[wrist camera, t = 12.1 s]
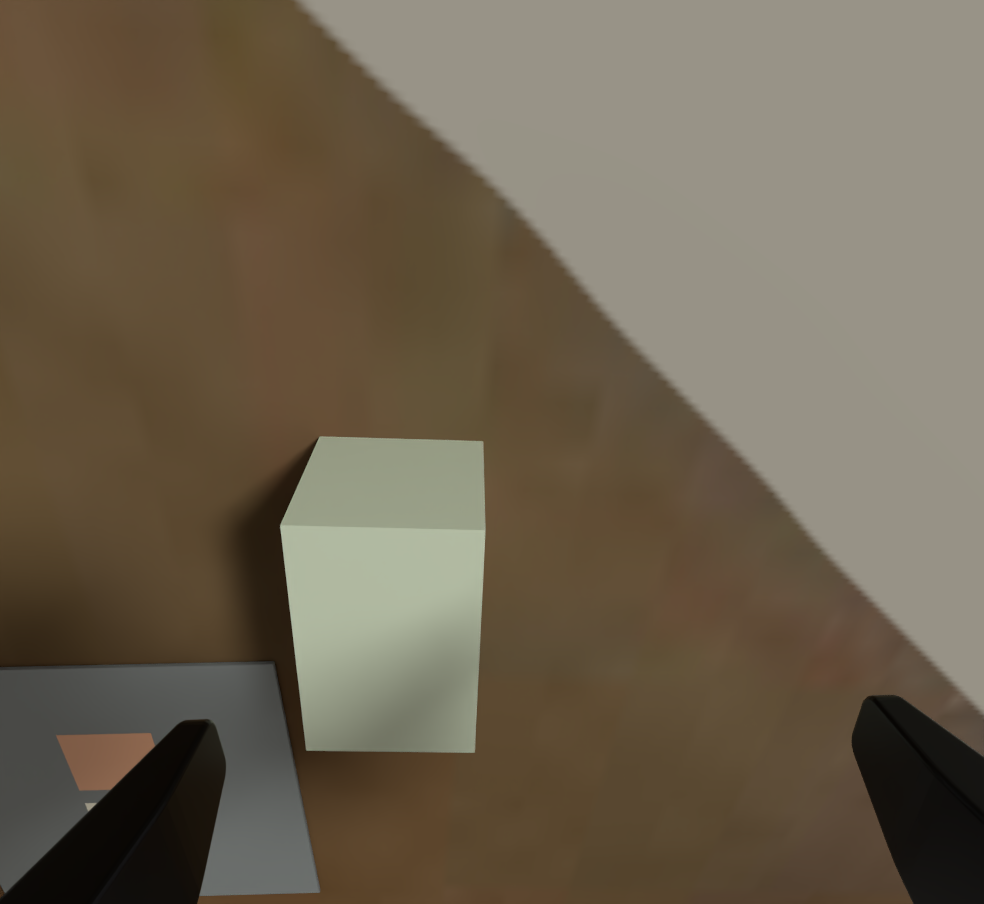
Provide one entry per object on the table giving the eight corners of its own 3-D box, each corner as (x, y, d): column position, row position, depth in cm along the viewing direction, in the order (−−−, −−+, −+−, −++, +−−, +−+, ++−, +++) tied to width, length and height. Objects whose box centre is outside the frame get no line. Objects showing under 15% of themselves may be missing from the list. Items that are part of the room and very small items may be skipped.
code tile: (274, 660, 25) (273, 664, 25) (320, 887, 32) (319, 892, 32) (-114, 668, 25) (-119, 672, 25) (12, 896, 32) (9, 901, 31)
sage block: (482, 439, 21) (485, 530, 17) (474, 635, 25) (474, 752, 21) (320, 434, 21) (280, 525, 17) (335, 633, 25) (305, 750, 21)
